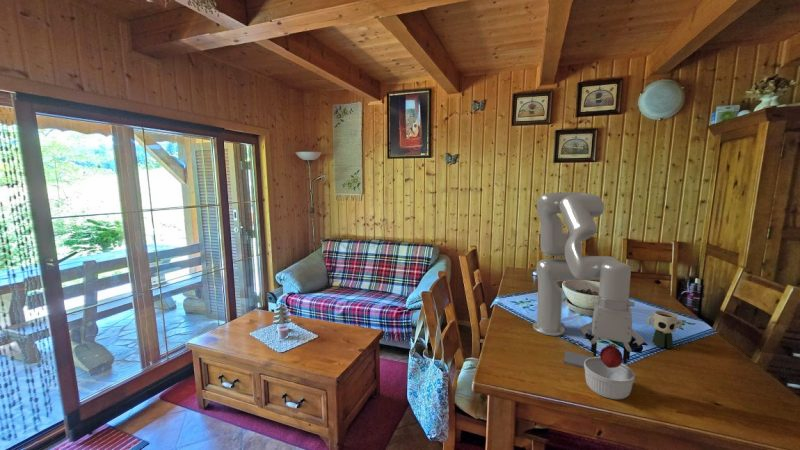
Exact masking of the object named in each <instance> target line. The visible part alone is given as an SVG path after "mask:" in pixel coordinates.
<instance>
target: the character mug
mask: <svg viewBox="0 0 800 450" xmlns="http://www.w3.org/2000/svg"><path fill="white" fill-rule="evenodd" d="M651 320H652V322H651ZM646 323H647V325H648V326H649V325H651V326H652V327H653V328H654V334H653V336H652V343H653V344H654V345H656V346H657V347H661V348H663V349H664V348H665V346H666V349H672V348H674V339H673V333H675V332H676V331H677V329H682V328H683V320H682V319H678V315H677V314H676V313H673V312H670V311H667V310H660V309H658V310H653V316H647V321H646Z"/></svg>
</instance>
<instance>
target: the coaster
mask: <svg viewBox="0 0 800 450" xmlns="http://www.w3.org/2000/svg"><path fill="white" fill-rule="evenodd" d="M588 358H591V356H589V355H585V354H582V353H581V354H580V353H575V352H572V351H567V350H566V351H565V352H564V358H563V364H566V365H569V366H573V367H578V368H582V369H585V368H584V362H585V360H586V359H588Z"/></svg>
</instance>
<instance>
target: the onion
mask: <svg viewBox="0 0 800 450" xmlns="http://www.w3.org/2000/svg"><path fill="white" fill-rule="evenodd" d="M599 357H600V358H601V360H602V362H603V363H604V364H605V365H606V366H607V367H608V368H615V367H618V366H620V365H621V363H622V364H623V353H622V352H621V350H620V349H618V348H617V347H616V344H615V343H611V345H607V346H605V347H603V348H602V349H600V353H599Z"/></svg>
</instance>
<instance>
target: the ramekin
mask: <svg viewBox="0 0 800 450" xmlns="http://www.w3.org/2000/svg"><path fill="white" fill-rule="evenodd" d="M583 369H584V377H585V381H586V382H585V383H586V384H587V387H589V389H590V390H591V391H593V392H594V393H595V394H597V395H599V396H601V397H604V398H606V399H612V400H624V399H626V398H628V397H629V396H630V394H631V392H632V389H633V384H634V382H635V379H636V378H635V377H636V374H635V372H634V370H632V368H630V367H629V366H628V365H627V364H625V363H623V362H622V363H621V365H620V366H618V367H615V368H608V367H607V366H606V365H605V364H604V363H603V362H602V360H601V358H600V356H595V357H594V356H592V357H590V358H588V359H586V360H585V362H584V368H583Z"/></svg>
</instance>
